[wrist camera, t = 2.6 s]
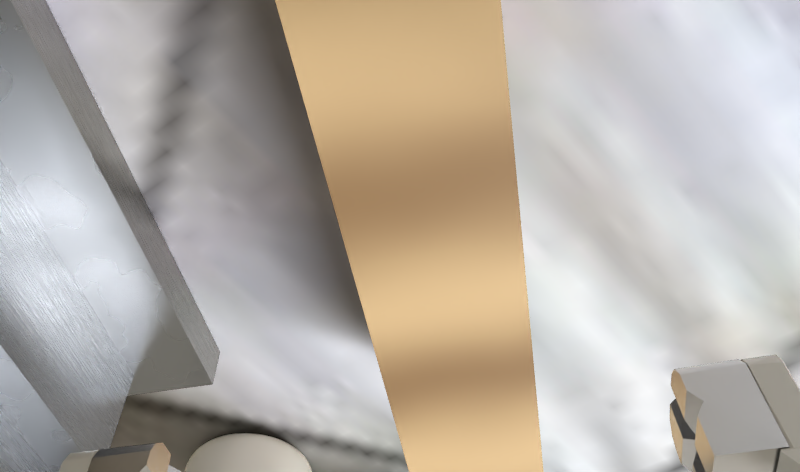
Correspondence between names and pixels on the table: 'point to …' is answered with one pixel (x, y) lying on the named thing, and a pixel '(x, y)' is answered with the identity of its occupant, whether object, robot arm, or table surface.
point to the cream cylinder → (247, 455)
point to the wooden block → (428, 215)
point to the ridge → (77, 263)
